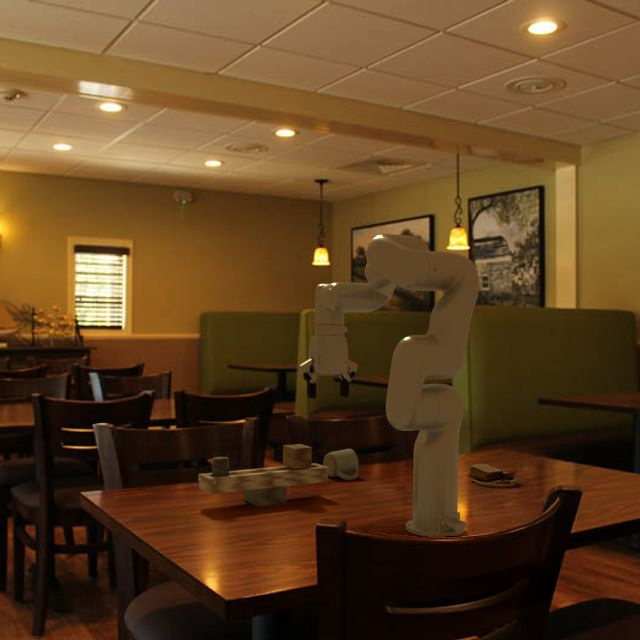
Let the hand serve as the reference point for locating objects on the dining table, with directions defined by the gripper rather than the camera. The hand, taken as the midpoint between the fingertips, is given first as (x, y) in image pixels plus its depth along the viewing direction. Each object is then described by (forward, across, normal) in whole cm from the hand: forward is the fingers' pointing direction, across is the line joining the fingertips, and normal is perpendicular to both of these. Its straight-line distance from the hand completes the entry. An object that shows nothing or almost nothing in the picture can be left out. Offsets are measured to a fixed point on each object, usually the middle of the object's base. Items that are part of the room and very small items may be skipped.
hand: (328, 397), depth 210 cm
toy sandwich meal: (+25, -49, +9) cm, 56 cm away
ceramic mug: (+26, -16, -18) cm, 35 cm away
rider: (+19, +9, 0) cm, 21 cm away
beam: (+25, +18, 0) cm, 31 cm away
